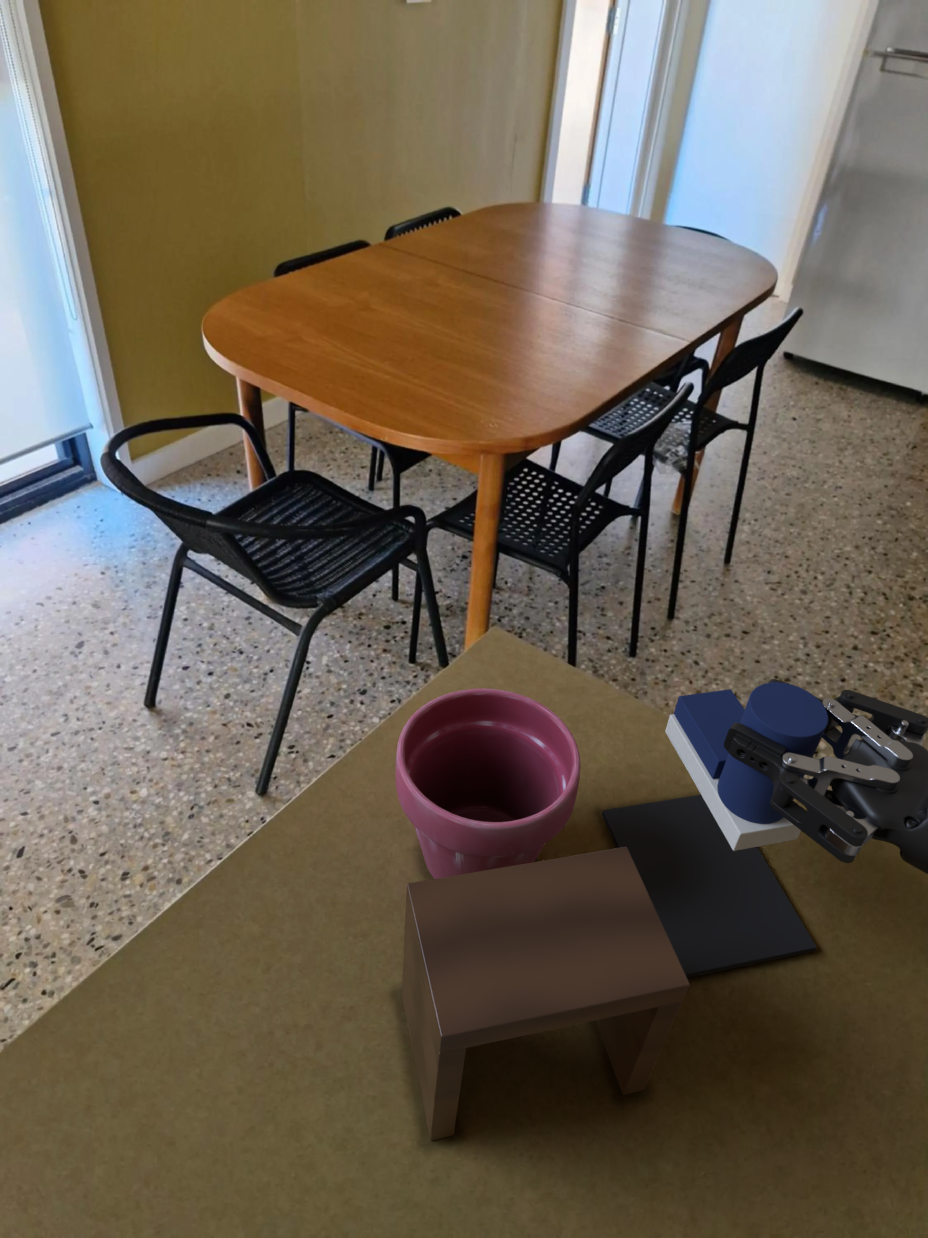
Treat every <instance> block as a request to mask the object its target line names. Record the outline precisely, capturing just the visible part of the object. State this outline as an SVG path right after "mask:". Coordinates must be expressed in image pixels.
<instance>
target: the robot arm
mask: <svg viewBox="0 0 928 1238" xmlns="http://www.w3.org/2000/svg"><path fill="white" fill-rule="evenodd" d="M772 682H780V683H787V684H790V683H789V682H785V681H782V680H779V679H776V678H772V679H769V681H768V682H767V683H772ZM815 697H816V698H817V699H818V700H819V701H820V702H821V703H822V704H823V706H824V707H825V709H826V711H827V714H828V724H827V727H826V729H825V731H824V734H823V736H822V738H821V739H823V740H824V741H825V742H826V743H827V744H828V745H829V746H830V747H831V749H832V752H833V755H834V756H835V757H834V756H830V755H829V756H828V755H827V756H823V757H821V758H815V757H813V758H811V757H807V756H803V755H799V754H795V753H791V752H787V753H785V754H784V752H785V750H786V747H784V746H783V745H781V744H779V743H777V742H775V741H773V740H771V739H769V738H767V737H766V736H764V735H762V734H760V733H758V732H756V731H754V730H752V729H751V728H749V727H747V726H745V725H743V724H741V723H734V724H733V725H732V726H731V728H730V729H729V730H728V733H727V736H726V738H725V741H724V747H725V749H726V750H727V751H729V752H728V753H729V754H730V755H731V756H732V757H733V758H735V759H737V760H738V761H740V762H743V763H744V764H746V765H748V766H749V767H751V768H753V769H755V770H757V771H758V772H760V773H762V774H764V775H766V776H767V777H769V778H770V779H771V780H772V783H773V785H774V787H773V796H772V798H771V800H770V805H771V807H772V808H773V809H774V810H775V811H777V812H778V813H779V814H781V815H782V816H783V817H784V818H786V819H787V820H788V821H790V822H791V823H792V824H793V825H795V826H796V827H797V828H798V829H800V830H801V833H803V834H804V835H806V837H809V838H810V840H812V841H814V842H815V843H816V844H817V845H819V846H820V847H821V848H823V849H824V850H825V851H827V852H828V853H829V854H831V855H832V856H833V857H834V858H835V859H837V860H838V861H840V862H841V863H845V864H851V863H853V862H854V861H855V859H856V858H857V856H858V855H859V853H860V851H861V849H862V848H863V846H865V844H867V843H868V842H870V840H871V839H872V840H875V841H879V842H884V843H889V844H891V845H894V846H896V847H897V848H898V849H899V856H900V858H901V860H902V861H904V862H905V863H907V864H908V865H910V866H912V867H913V868H915V869H916V870H917V869H918V870H919V871H921V872H923V873H924V874H926V875H928V749H927V748H926V747H924V739H925V737H926V735H927V733H928V717H927V716H926V715H924V714H922V713H921V714H920V713H918V712H915V711H912V710H909V709H906V708H903V707H900V706H898V705H895V704H892V703H889V702H886V701H883V700H880V699H878V698H874V697H871V696H868V695H865V694H863V693H860V692H857V691H854V690H851V689H843V690H842V691H841V693H840V695H838V696H837V697H835V698H830V697H829V698H825V699H821V698H819V697H817V696H815ZM855 709H856V710H858V711H862V712H864V713H867V714H869V715H871V716H870V718H867V717H865V716H864V715H857V714H855V713H854V710H855ZM837 726H839V727H840V728H841V730H839V729H838V728H837ZM799 773H801V774H805V775H804V776H808V777H812V778H805V777H803V778H802V777H799ZM829 787H831V789H828V788H829ZM794 800H796V801H797V802H799V803H800V804H801V805H802V806H801V805H799V804H798V803H797V802H796V801H794ZM803 807H805V808H803Z"/></svg>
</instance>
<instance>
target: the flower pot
mask: <svg viewBox="0 0 928 1238" xmlns="http://www.w3.org/2000/svg"><path fill="white" fill-rule="evenodd" d="M581 768H582V766H581V755H580V750H579V747H578V743H577V741H576V738H575V737H574V735H573V733H572V732H571V730H570V729H569V727H568V726H567V724H566V723H565V722H564V721H563V719H561V718H560V717H559V716H558V714H556V713H555V712H554V711H552V710H551V709H550V708H548V707H547V706H546V705H545V704H542V703H541V702H539V701H537V700H535V699H533V698H531V697H528V696H526V695H523V694H520V693H517V692H514V691H509V690H505V689H504V690H503V689H498V688H497V689H496V688H469V689H462V690H457V691H452V692H449V693H446V694H442V695H440V696H438V697H436V698H433V699H432V700H430V701H428V702H427V703H425V704H424V705H422V706H421V707H420V708H418V709H417V710H416V711H415V712H414V713H413V714H412V715H411V716H410V717H409V718H408V720H407V722H406V723H405V724H404V726H403V728H402V730H401V732H400V734H399V738H398V742H397V746H396V756H395V789H396V795H397V799H398V802H399V804H400V806H401V808H402V811H403V812H404V814H405V816H406V817H407V819H408V820H409V822H410V823H411V824H412V825H413V826H414V829H415V833H416V836H417V840H418V844H419V846H420V849H421V852H422V854H423V858H424V859H423V860H424V862H425V865H426V868H427V870H428V872H429V873H430V875H431V876H432V879H437V878H443V877H449V876H455V875H461V874H467V873H473V872H479V871H485V870H491V869H497V868H503V867H509V866H514V865H520V864H526V863H532V862H536V860H537V859H538V856H539V855H540V854H541V851H542V850H543V848H544V847H545V845H546V844H547V843H548V842H550V841H551V840H552V839H554V838H555V837H556V836H557V835H558V834H559V833H560V832H561V831H562V830H563V829H564V828H565V826H566V825H567V823H568V821H569V820H570V819H571V816H572V813H573V811H574V809H575V806H576V801H577V796H578V790H579V786H580V785H579V784H580V777H581Z"/></svg>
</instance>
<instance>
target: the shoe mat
mask: <svg viewBox="0 0 928 1238" xmlns="http://www.w3.org/2000/svg"><path fill="white" fill-rule="evenodd" d="M601 816H602V818H603V820H604V823H605V825H606V828H607V830H608V832H609V835H610V836H611V838H612V841H613V843H614V846H615V848H621V847H627V848H628V850H629V853H630V855H631V857H632V859H633V861H634V864H635V866H636V868H637V870H638V872H639V874H640V877H641V879H642V881H643V883H644V885H645V888H646V890H647V892H648V894H649V896H650V898H651V901H652V903H653V905H654V907H655V909H656V912H657V914H658V916H659V918H660V920H661V922H662V925H663V927H664V929H665V931H666V933H667V936H668V938H669V940H670V942H671V944H672V946H673V949H674V951H675V953H676V955H677V957H678V960H679V962H680V964H681V966H682V968H683V970H684V973H685V975H686V977H687V979H688V978H693V977H697V976H702V975H706V974H707V975H708V974H712V973H716V972H721V971H726V970H731V969H736V968H740V967H745V966H750V965H755V964H760V963H764V962H770V961H775V960H779V959H783V958H788V957H793V956H799V955H802V954H803V955H804V954H808V953H812V952H815V951H816V950H817V948H818V947H817V945H816V943H815V942H814V939H813V938H812V936H811V935H810V933H809V931H808V930H807V928H806V927H805V925H804V923H803V921H802V920H801V918H800V916H799V914H798V912H797V911H796V909H795V908H794V906H793V904H792V903H791V901H790V900H789V897H788V896H787V895H786V892H785V890H784V889H783V887H782V886H781V884H780V883H779V880H778V879H777V877H776V875H775V874H774V873H773V871H772V869H771V867H770V866H769V864H768V863H767V861H766V859H765V856H764V855H763V854H762V852H761V851H760V849H759V846H758V847H753V848H747V849H742V850H736V851H733V850H732V848H731V846H730V844H729V842H728V841H727V839H726V837H725V835H724V834H723V832H722V830H721V828H720V827H719V825H718V823H717V821H716V820H715V818H714V816H713V814H712V813H711V811H710V809H709V807H708V806H707V804H706V802H705V800H704V799H703V797H702V795H701V794H696V795H690V796H684V797H677V798H671V799H664V800H659V801H651V802H645V803H640V804H633V805H627V806H620V807H614V808H608V809H603V810H602V811H601Z"/></svg>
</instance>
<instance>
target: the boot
mask: <svg viewBox="0 0 928 1238" xmlns="http://www.w3.org/2000/svg"><path fill="white" fill-rule="evenodd" d="M787 683H788V682H786V683H780V682H772V683H768V682H766V683H763V684H760V685H758V686H756V687H755V688H754V689H753V690H752V691H751V692H750V694H749V697H748V699H747V702H746V705H745V707H744V706H743V705H742V703H741V702H740V701H739V699H738V698H737V695H735V693H734V691H732V689H730V688H729V689H722V690H721V689H720V690H714V691H705V692H699V693H691V694H684V695H679V696H678V697H677V701H676V704H675V708H674V710H673V713H672V714H669V718H668V720H667V724H666V727H665V731H664V732H665V734H666V736H667V738H668V739H669V741H670V743H671V745H672V746H673V748H674V749H675V752H676V753H677V755H678V757H679V759H680V761H681V762H682V764H683V765H684V767H685V769H686V770H687V772H688V774H689V776H690V777H691V779H692V781H693V783H694V785H695V786H696V788H697V790H698V792H699V794H700V795H702V797H703V799H704V800H705V802H706V804H707V806H708V807H709V809H710V811H711V813H712V814H713V816H714V818H715V820H716V821H717V823H718V825H719V827H720V828H721V830H722V832H723V834H724V835H725V837H726V839H727V841H728V842H729V844H730V846H731V848H732V850H733V851H736V850H742V849H747V848H753V847H758V848H759V847H763V846H769V845H774V844H779V843H780V844H781V843H785V842H792V841H796V840H798V838H799V836H800V834H801V833H802V831H801V830H800V829H798V828H797V827H796V826H795V825H793V824H792V823H791V822H790V821H788V820H787V819H786V818H784V817H783V816H782V815H781V814H779V813H778V812H777V811H775V810H774V809H773V808H772V807H771V805H770V800H771V798H772V796H773V787H774V785H773V783H772V780H771V779H770V778H769V777H767V776H766V775H764V774H762V773H760V772H758V771H757V770H755V769H753V768H751V767H749V766H748V765H746V764H744V763H743V762H740V761H738V760H737V759H735V758H733V757H732V756H731V755H730V754H729V753H728V752H729V751H727V750H726V749H725V747H724V741H725V738H726V736H727V733H728V730H729V729H730V728H731V726H732V725H733V724H734V723H741V724H743V725H745V726H747V727H749V728H751V729H752V730H754V731H756V732H758V733H760V734H762V735H764V736H766V737H767V738H769V739H771V740H773V741H775V742H777V743H779V744H781V745H783V746H784V747H786V750H785V752H784V754H785V753H787V752H791V753H795V754H799V755H803V756H807V757H811V758H814V755H815V754H816V751H817V748H818V747H819V744H820V742H821V740H822V739H823V738H822V736H823V734H824V731H825V729H826V727H827V724H828V714H827V711H826V709H825V707H824V706H823V704H822V703H821V702H820V701H819V700H818V699H817V698H818V697H817V696H815V695H814V694H813V693H811V692H809V691H808V690H806V689H804V688H802V687H799V686H798V685H794V684H791V683H789V684H787ZM816 697H817V698H816ZM805 776H806V775H805V774H801V773H799V777H802V778H805Z"/></svg>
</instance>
